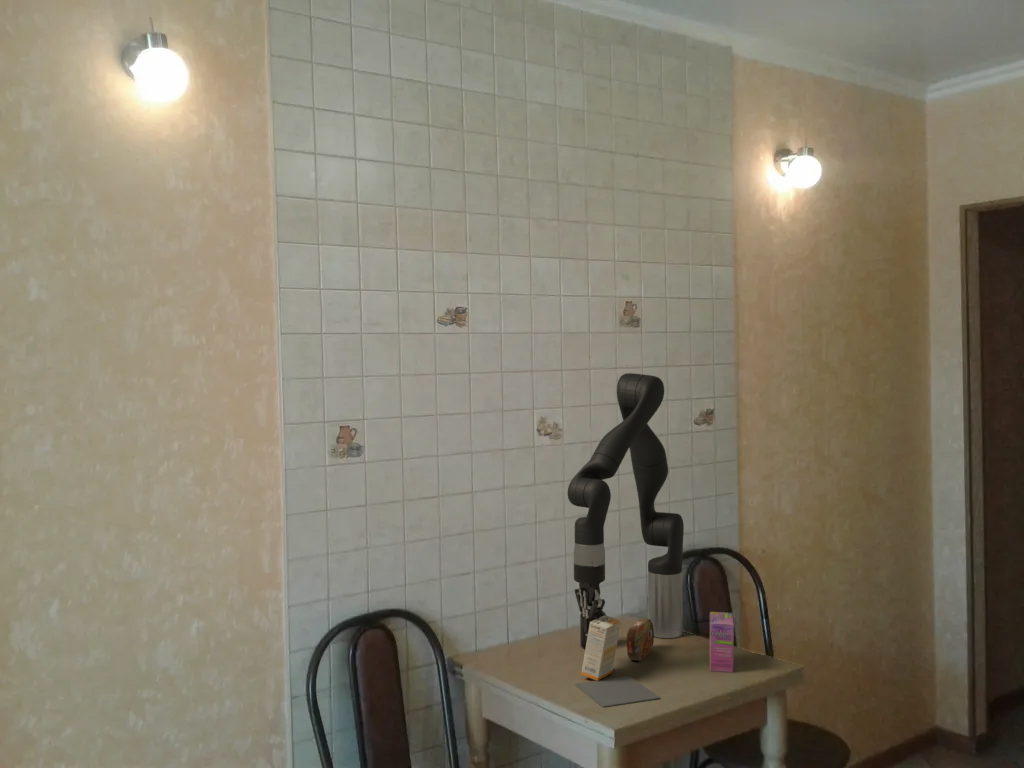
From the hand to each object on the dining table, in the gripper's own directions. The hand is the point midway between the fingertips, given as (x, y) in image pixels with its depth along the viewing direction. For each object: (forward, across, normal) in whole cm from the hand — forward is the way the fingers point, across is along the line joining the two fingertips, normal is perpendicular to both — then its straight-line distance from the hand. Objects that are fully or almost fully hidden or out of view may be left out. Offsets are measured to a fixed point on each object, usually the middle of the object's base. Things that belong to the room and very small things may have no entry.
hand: (589, 632), depth 225 cm
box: (+10, +7, +32) cm, 34 cm away
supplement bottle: (+10, -18, +9) cm, 22 cm away
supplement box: (+9, +3, 0) cm, 10 cm away
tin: (+10, -7, +17) cm, 21 cm away
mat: (+10, +14, 0) cm, 17 cm away
